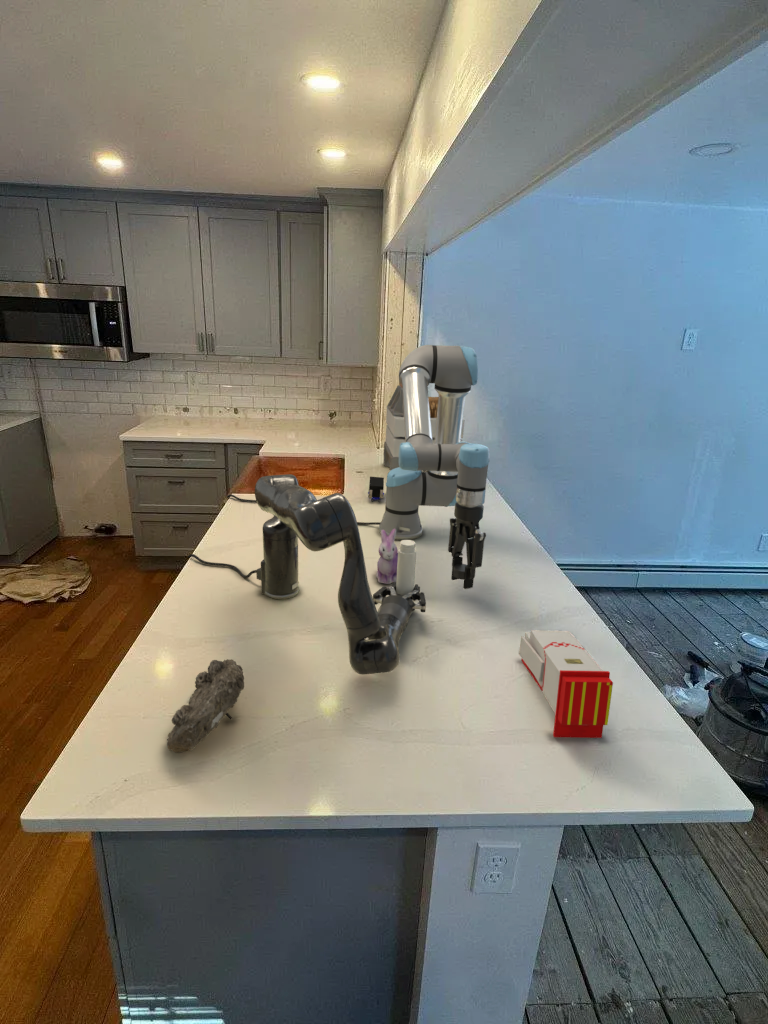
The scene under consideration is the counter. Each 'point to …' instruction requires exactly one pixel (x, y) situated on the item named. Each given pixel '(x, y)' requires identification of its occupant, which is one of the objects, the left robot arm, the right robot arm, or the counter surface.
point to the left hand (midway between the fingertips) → (406, 586)
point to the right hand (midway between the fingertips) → (461, 583)
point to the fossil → (206, 705)
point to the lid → (459, 571)
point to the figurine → (387, 558)
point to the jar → (406, 567)
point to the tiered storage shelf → (403, 427)
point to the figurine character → (376, 488)
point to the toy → (568, 682)
